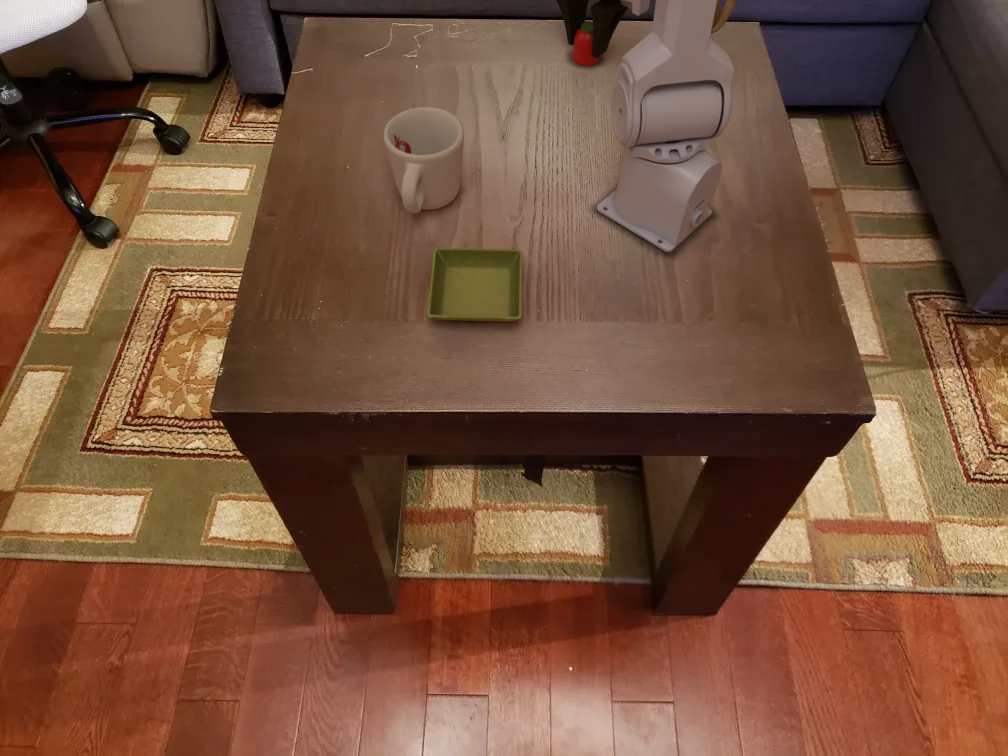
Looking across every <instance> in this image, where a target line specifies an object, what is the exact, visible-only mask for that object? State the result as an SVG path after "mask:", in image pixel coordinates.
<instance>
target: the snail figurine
mask: <svg viewBox="0 0 1008 756" xmlns="http://www.w3.org/2000/svg"><path fill="white" fill-rule="evenodd" d="M737 2H738V0H726V1H725V2H724V5H723V7H722V5H721V1H720V0H717V4H716V9H715V14H714V19H713V24H712V29H711V34H710V35H712V34H715V33H717V32H719V31H720V30H721V29H722V28H723V27H724V26H725V24H726V23H727V21H728V19H729V18H730V16H731V15H732V12H733V10H734V8H735V6H736V3H737Z"/></svg>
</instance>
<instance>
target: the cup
mask: <svg viewBox="0 0 1008 756" xmlns="http://www.w3.org/2000/svg"><path fill="white" fill-rule="evenodd" d="M383 142H384V143H383V144H384V146H385V149H386V150H385V151H386V153H387V157H388V160H389V164H390V168H391V171H392V174H393V178H394V182H395V185H396V188H397V192H398V193H399V196H400V197H401V201H402V205H403V209H404V210H405V212H407V213H408V214H413V215H416V214H419V213H420V212H421V210H425V211H427V210H429V211H430V210H437V209H441V208H444V207H446V206H448V205H449V204H451V203H453V201H454V200H455V198H456V197H457V195H458V194H459V192H460V188H461V183H462V170H463V157H464V156H463V155H464V144H465V143H464V142H465V129H464V126H463V124H462V122H461V120H460V119H459V118H458V117H457V116H455V115H454V114H452V113H451V112H449V111H447V110H444V109H441V108H437V107H432V106H430V107H429V106H421V107H420V106H419V107H414V108H410V109H406V110H404V111H401V112H399V113H398V114H396V115H394V116H393V117H392V118H391V119H390V120H389V121H388V122H387V124H386V125H385V127H384V130H383Z"/></svg>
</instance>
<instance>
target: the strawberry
mask: <svg viewBox="0 0 1008 756" xmlns="http://www.w3.org/2000/svg"><path fill="white" fill-rule="evenodd" d="M592 43H593V20H585V22H583V23H582V25H581V28H580V29H579V30H578V31H577V32H576V34H575V38H574V45H573V49H572V60H573V61H574V63H575V64H578V65H580V66H583V67H588V66H589V67H590V66H594V65H596V64H597V63H599V61H600V57H601V56H600V57H598V58H595V57H593V56H592Z"/></svg>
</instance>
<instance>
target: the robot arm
mask: <svg viewBox="0 0 1008 756" xmlns="http://www.w3.org/2000/svg"><path fill="white" fill-rule="evenodd" d="M555 1H556V3H557V6H558V8H559V10H560V14H561V16H562V19H563V23H564V28H565V33H566V39H567V44H568V45H570V46H572V47H573V46H574V38H575V34H576V32H577V31H578V30H579V29H580V28H581V25H582V23H583V22H586V18H587V10H588V5H589V1H590V0H555ZM650 3H651V0H598V1H596V2H595V3H594V4H592V5H590V9H589V10H590V14H591V19H592V20H591V21H592V22H593V43H592V56H593V57H595V58H598V57H601V56H603V55H604V54H606V53H607V51H608V48H609V45H610V43H611V40H612V38H613V36H614V33H615V31H616V29H617V27H618V25H619V23H620V22H621V20H622V18H623V17H624V15H625V14H626V13H627V11H628V9H631V13H632V14H634V15H636V16H638V17H639V16H640V15H642V14H644V13H645V12H647V11H648V10H649V9H650ZM716 4H717V0H655V5H654V13H653V19H652V26H651V31H650V32H649V33H648V34H647V35H646V36H645V37H644V38H643V39H641V40H640V41H639V42H638V43H637V44H635V45H634V46H633V47H631V49H629V50H628V51H627V52H626V53H624V55H623V56H622V58H621V63H620V64H619V70H618V75H617V78H616V82H615V84H614V86H613V89H612V94H611V103H610V112H611V113H610V114H611V123H612V128H613V133H614V136H615V138H616V139H617V141H618V142H619V143H620V144H621V146H623V148H622V154H621V160H620V165H619V170H618V171H619V172H618V177H617V182H616V188H615V190H613V192H611V193H610V194H608V195H607V196H606V197H605V198H604V199H602V200H601V201H600V202H599V203H598V204H597V205H596V211H597V212H599V213H600V214H602V215H604V216H605V217H607V218H608V219H610V220H612V221H614V222H615V223H617V224H618V225H620V226H622V227H623V228H625V229H627V230H629V231H630V232H632V233H633V234H636V235H637V236H638V237H640V238H642V239H644V240H645V241H646V242H648V243H650V244H652V245H654V246H655V247H656V248H659V249H660V250H662V251H663V252H665V253H671V252H673V250H675V249H676V247H678V246H679V245H680V244H681V243H683V241H684V240H685V239H687V238H688V237H689V236H690V235H691V234H692V233H693V232H694V231H695V230H696V229H697V228H698V227H699V226H700V225H702V224H703V223H704V222H705V221H706V220H707V219H708V218H710V216H711V215H712V212H713V210H712V209H711V207H712V204H713V200H714V197H715V194H716V192H717V188H718V184H719V182H720V178H721V175H722V169H723V166H722V163H721V162H719V160H717V159H716V158H715V157H713V155H711V154H710V153H709V152H708V147H709V144H710V140H711V139H717V138H719V137H720V136H721V135H722V134H723V133H724V131H725V130H726V128H727V127H728V125H729V122H730V120H731V116H732V110H733V85H734V76H735V67H734V65H733V62H732V59H731V57H730V55H729V54H728V51H726V50H725V49H724V48H723V47H722V46H721V45H720V44H719V43H717V42H716V41H715V40H713V39H712V38H711V35H712V34H711V29H712V24H713V19H714V14H715V9H716Z"/></svg>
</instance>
